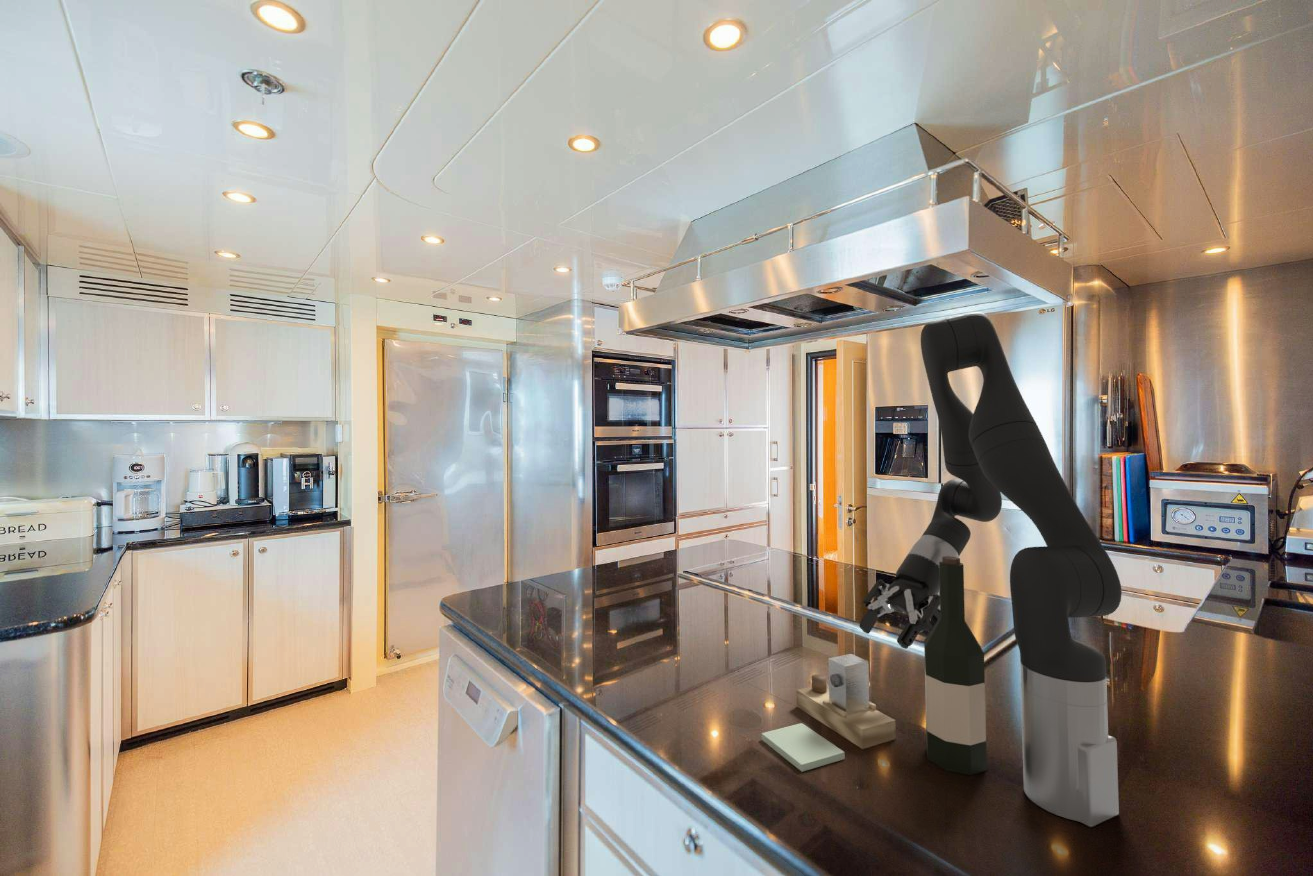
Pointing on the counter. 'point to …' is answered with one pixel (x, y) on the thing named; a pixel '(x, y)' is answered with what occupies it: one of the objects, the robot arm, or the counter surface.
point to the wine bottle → (954, 682)
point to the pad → (802, 747)
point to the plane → (845, 716)
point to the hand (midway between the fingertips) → (881, 637)
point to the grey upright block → (849, 683)
